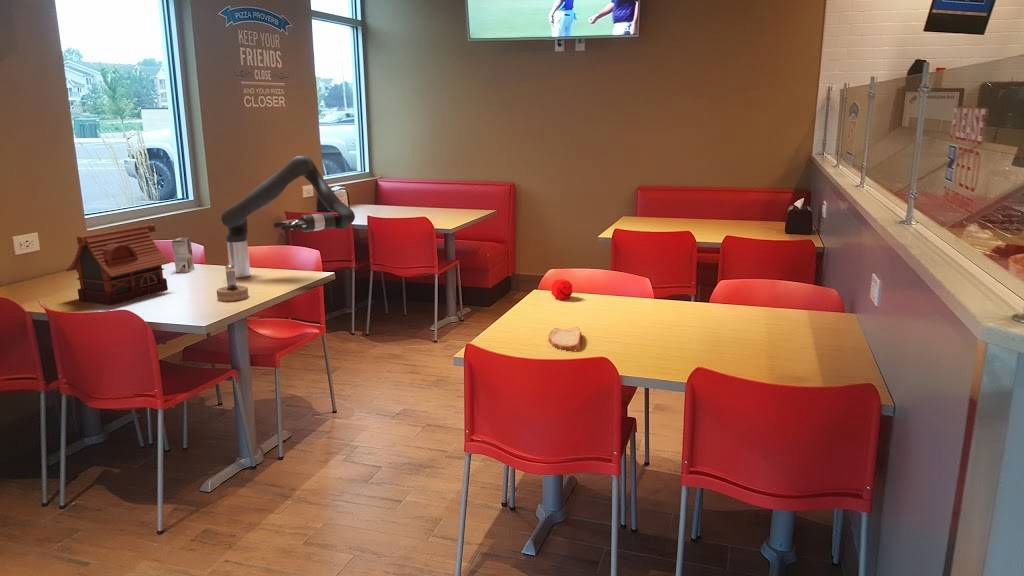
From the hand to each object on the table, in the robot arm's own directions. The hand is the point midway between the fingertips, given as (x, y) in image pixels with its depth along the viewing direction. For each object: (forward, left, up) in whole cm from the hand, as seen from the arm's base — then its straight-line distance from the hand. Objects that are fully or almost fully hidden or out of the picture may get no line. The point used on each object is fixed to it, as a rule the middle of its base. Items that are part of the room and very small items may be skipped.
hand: (277, 226), depth 320 cm
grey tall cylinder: (+2, -23, -28) cm, 36 cm away
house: (-35, -57, -28) cm, 73 cm away
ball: (+96, +82, -28) cm, 129 cm away
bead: (+2, -23, -28) cm, 36 cm away
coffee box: (-69, -23, -28) cm, 78 cm away
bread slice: (+139, +45, -29) cm, 149 cm away
